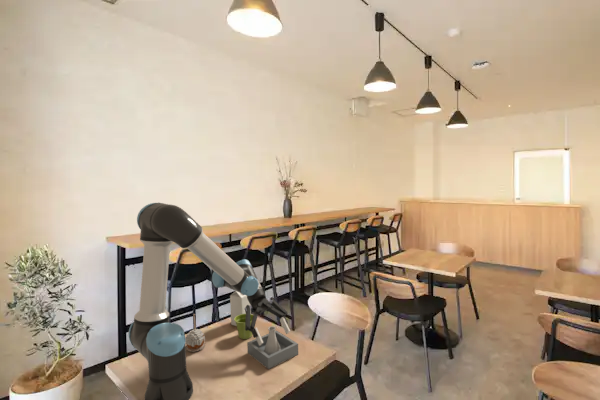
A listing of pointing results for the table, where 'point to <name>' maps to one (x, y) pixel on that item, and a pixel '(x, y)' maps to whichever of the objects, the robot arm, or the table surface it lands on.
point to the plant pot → (243, 326)
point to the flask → (272, 342)
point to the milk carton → (238, 305)
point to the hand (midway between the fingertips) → (275, 338)
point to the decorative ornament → (195, 339)
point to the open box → (269, 361)
